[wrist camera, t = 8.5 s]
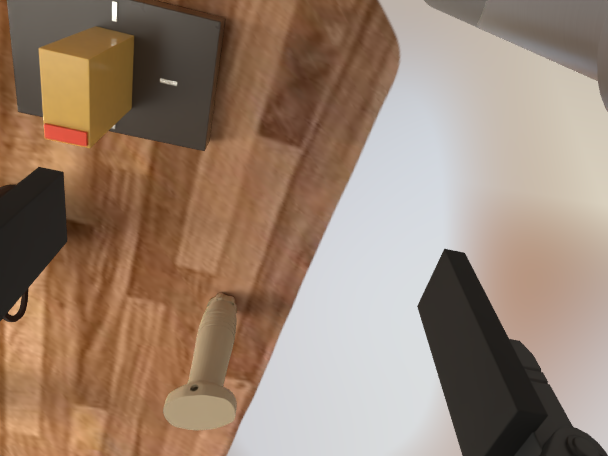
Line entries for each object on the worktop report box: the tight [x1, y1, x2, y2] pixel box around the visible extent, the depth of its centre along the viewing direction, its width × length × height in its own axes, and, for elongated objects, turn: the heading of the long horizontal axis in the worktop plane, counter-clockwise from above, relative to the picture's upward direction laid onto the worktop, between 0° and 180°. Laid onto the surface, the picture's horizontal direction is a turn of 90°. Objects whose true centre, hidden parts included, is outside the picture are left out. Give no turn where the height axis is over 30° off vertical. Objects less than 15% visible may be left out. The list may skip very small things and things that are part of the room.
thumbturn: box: [39, 26, 134, 148], centre depth 33 cm, size 6×3×9 cm, turn 167°
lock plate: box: [7, 0, 225, 151], centre depth 38 cm, size 16×11×3 cm
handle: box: [163, 293, 237, 430], centre depth 47 cm, size 5×6×15 cm
